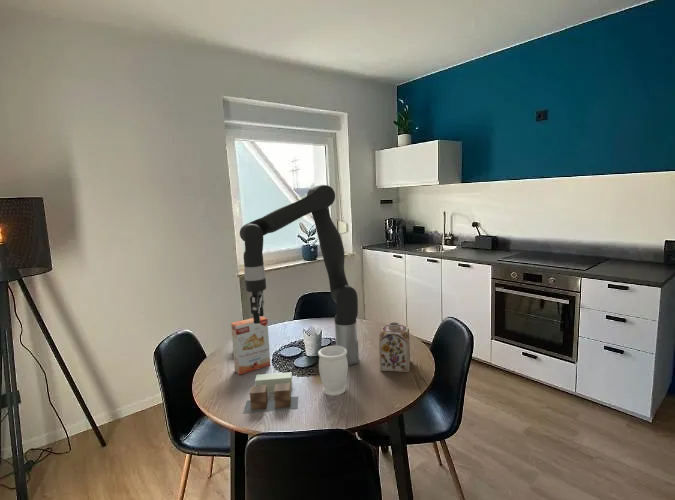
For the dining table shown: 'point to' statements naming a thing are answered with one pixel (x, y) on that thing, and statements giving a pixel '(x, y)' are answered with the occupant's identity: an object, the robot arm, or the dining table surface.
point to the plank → (274, 380)
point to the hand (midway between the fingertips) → (259, 319)
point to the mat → (271, 406)
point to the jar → (333, 369)
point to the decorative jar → (394, 348)
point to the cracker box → (250, 345)
